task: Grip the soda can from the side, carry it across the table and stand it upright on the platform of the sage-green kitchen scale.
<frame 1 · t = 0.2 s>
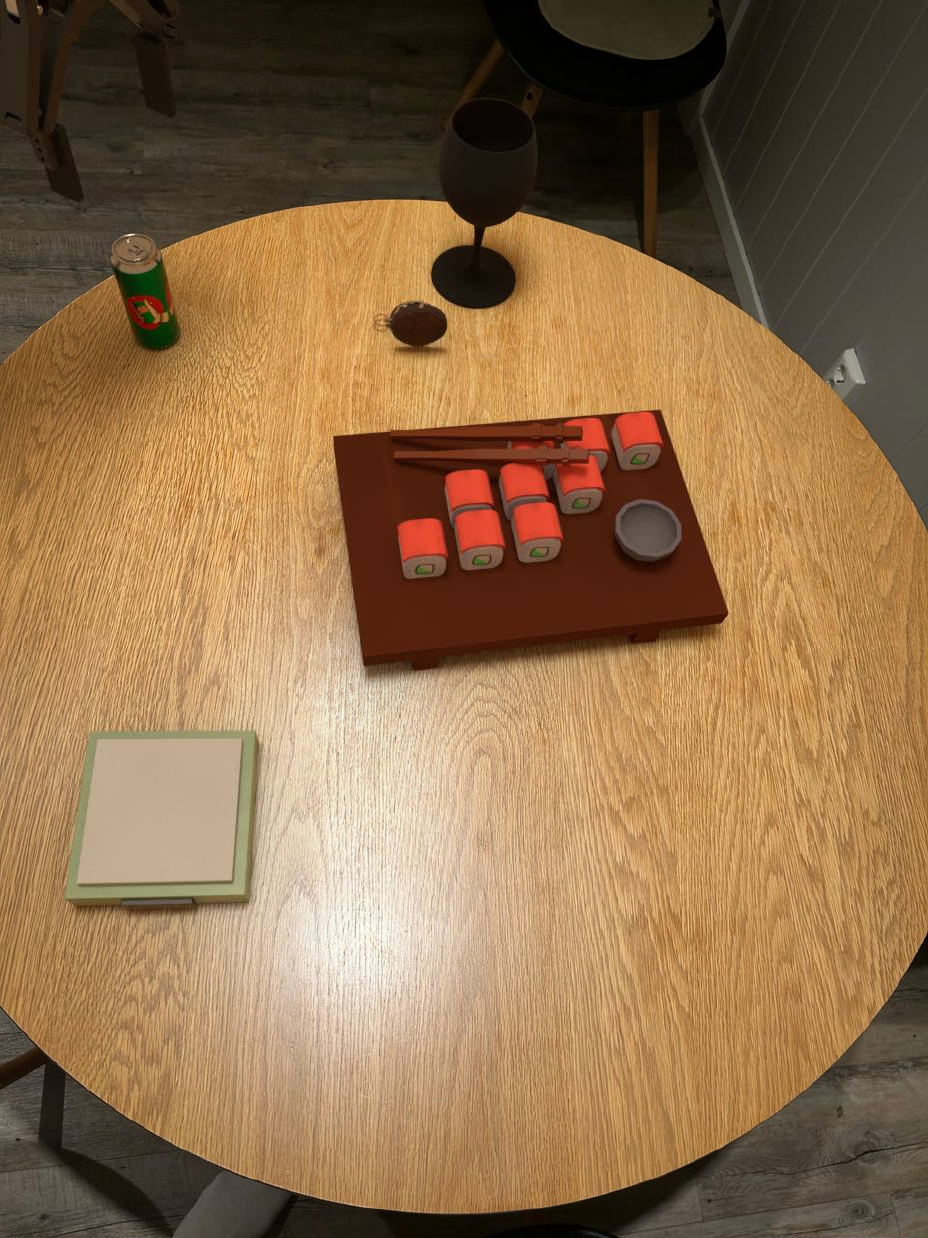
hand: (116, 151, 82), 25 cm above the table, tool pointing down, fingers open, 13 cm apart
scale: (171, 820, 80), on the table
sushi: (518, 547, 96), on the table
wine glass: (473, 278, 113), on the table
compass: (408, 331, 109), on the table
soda can: (157, 336, 105), on the table
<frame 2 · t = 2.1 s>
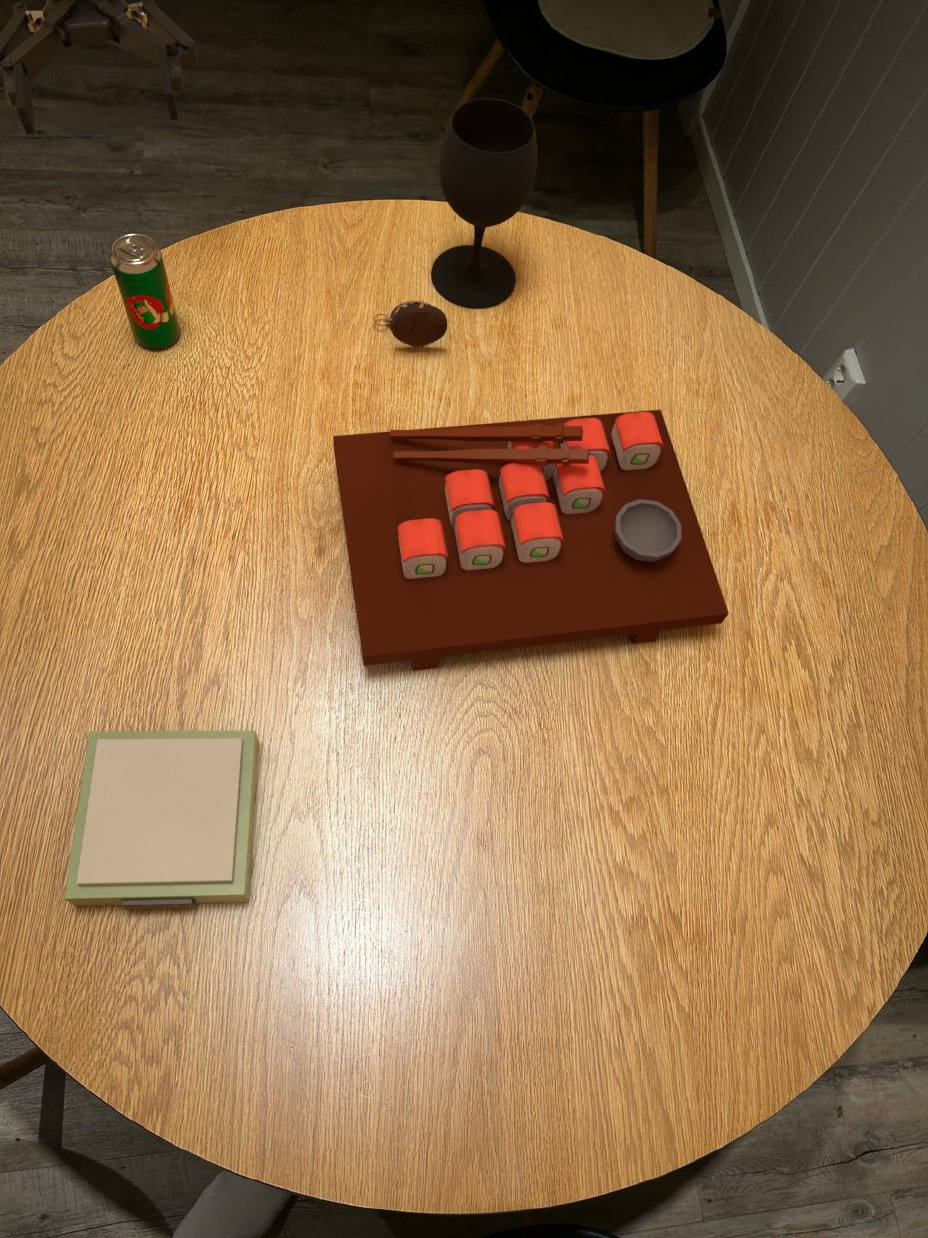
hand: (99, 114, 90), 21 cm above the table, tool horizontal, fingers open, 13 cm apart
nothing on the table moved.
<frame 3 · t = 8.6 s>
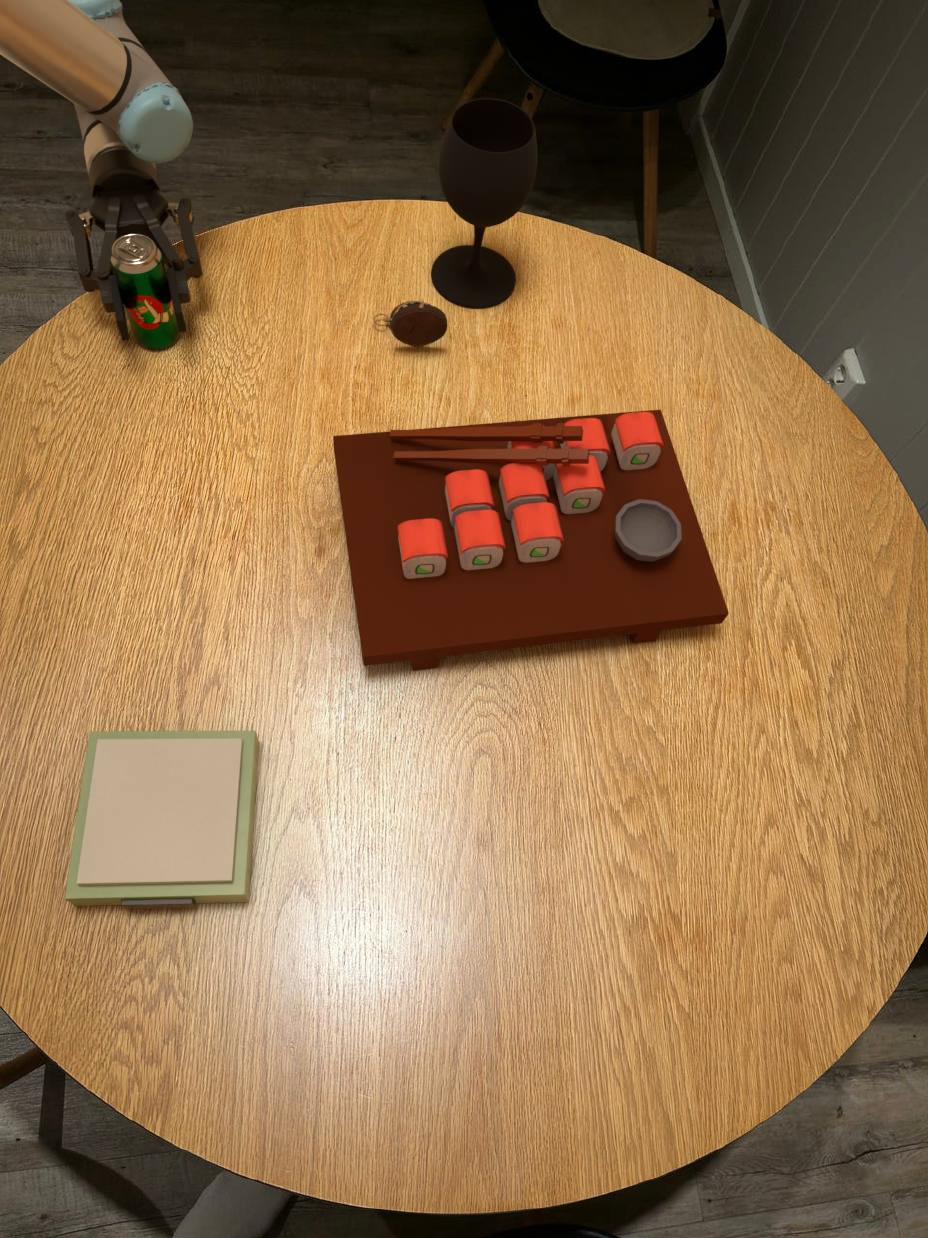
hand: (152, 325, 97), 7 cm above the table, tool horizontal, fingers closed on soda can, 5 cm apart
soda can: (157, 336, 105), on the table, touching gripper
everything else where it was.
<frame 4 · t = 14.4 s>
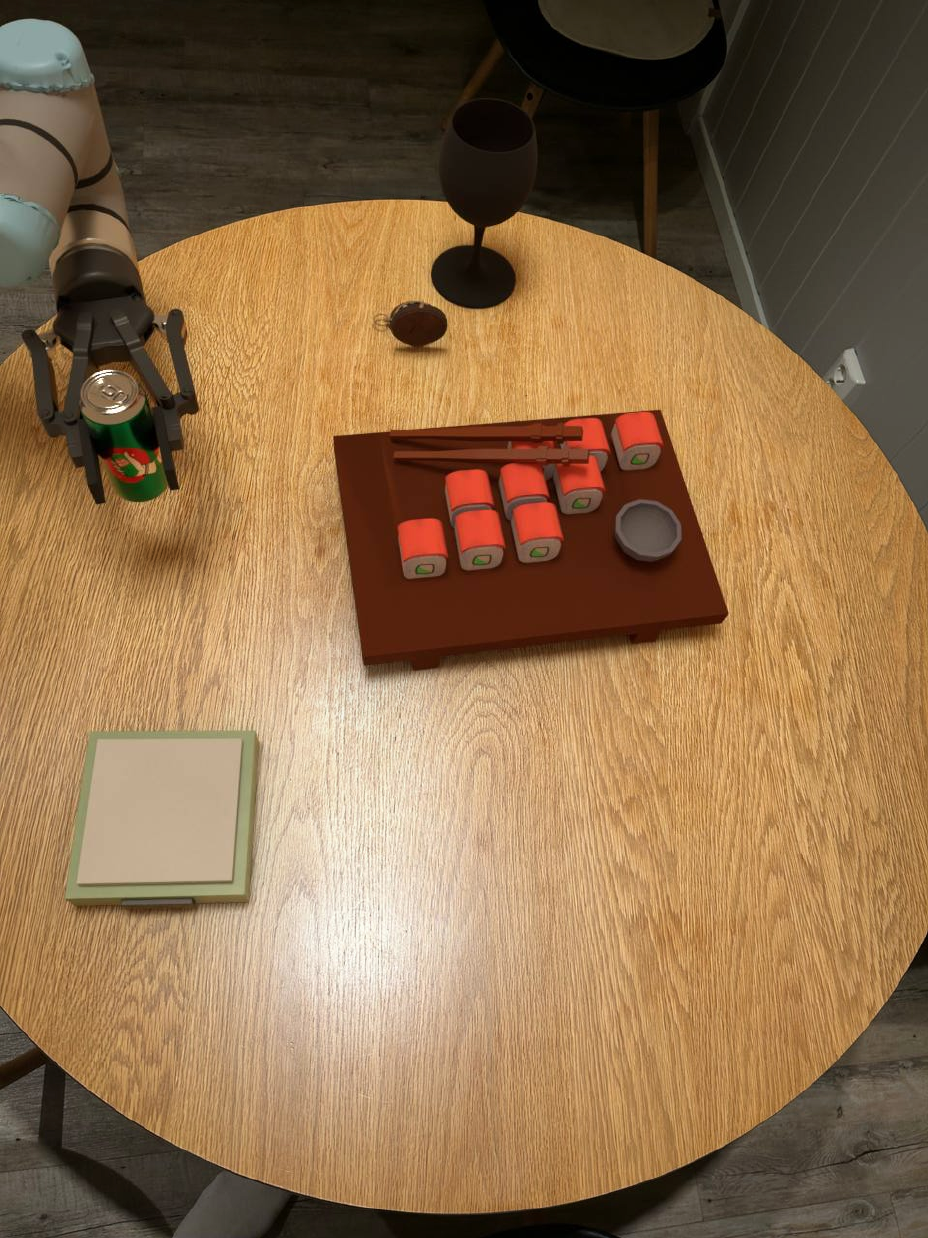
hand: (134, 486, 74), 18 cm above the table, tool horizontal, fingers closed on soda can, 5 cm apart
soda can: (142, 483, 83), point 11 cm above the table, touching gripper
everything else where it was.
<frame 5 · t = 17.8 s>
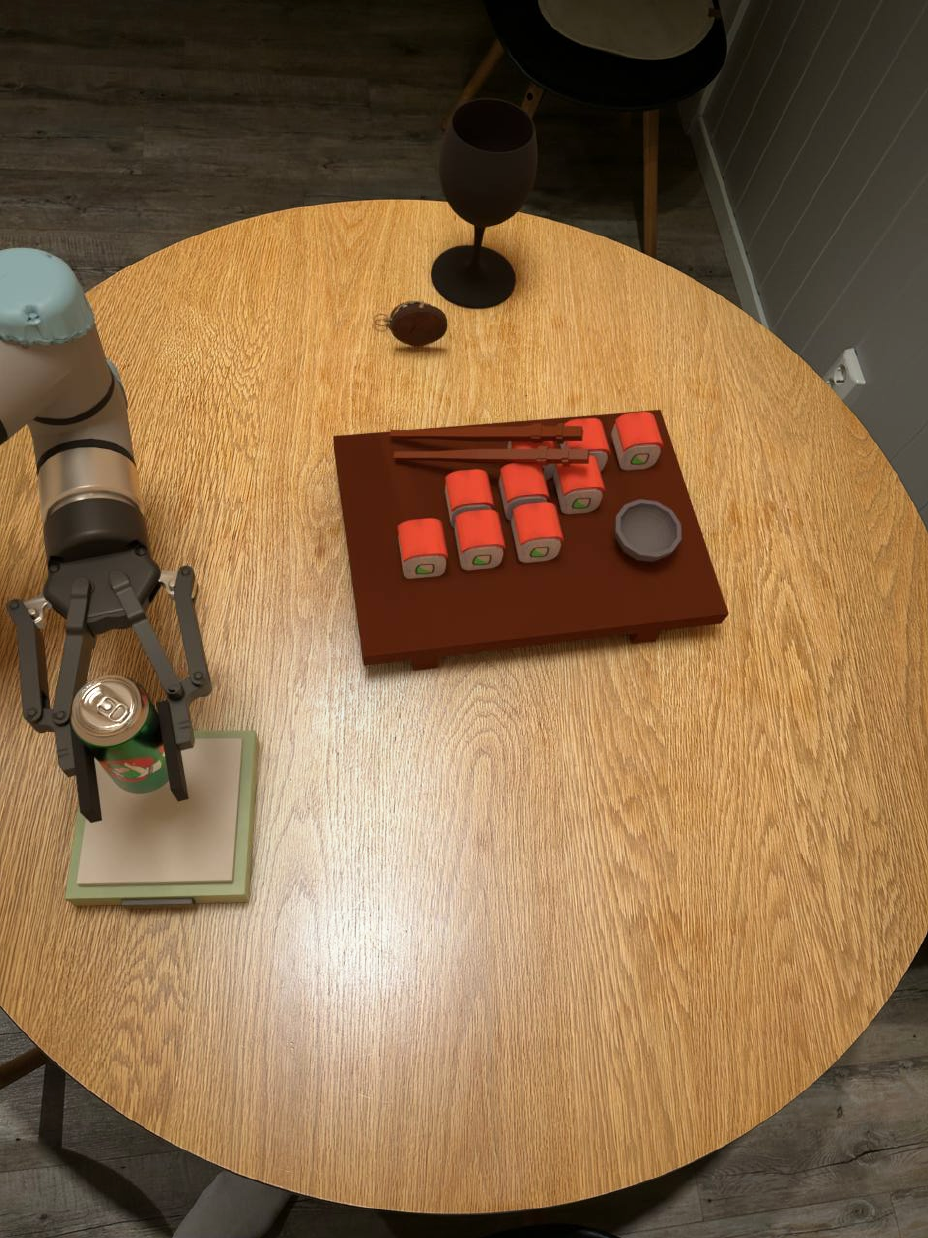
hand: (136, 804, 63), 18 cm above the table, tool horizontal, fingers closed on soda can, 5 cm apart
soda can: (146, 764, 71), point 11 cm above the table, touching gripper
everything else where it was.
when the fingers open (10 cm above the table, at t = 20.2 s): soda can stays where it is, resting on scale.
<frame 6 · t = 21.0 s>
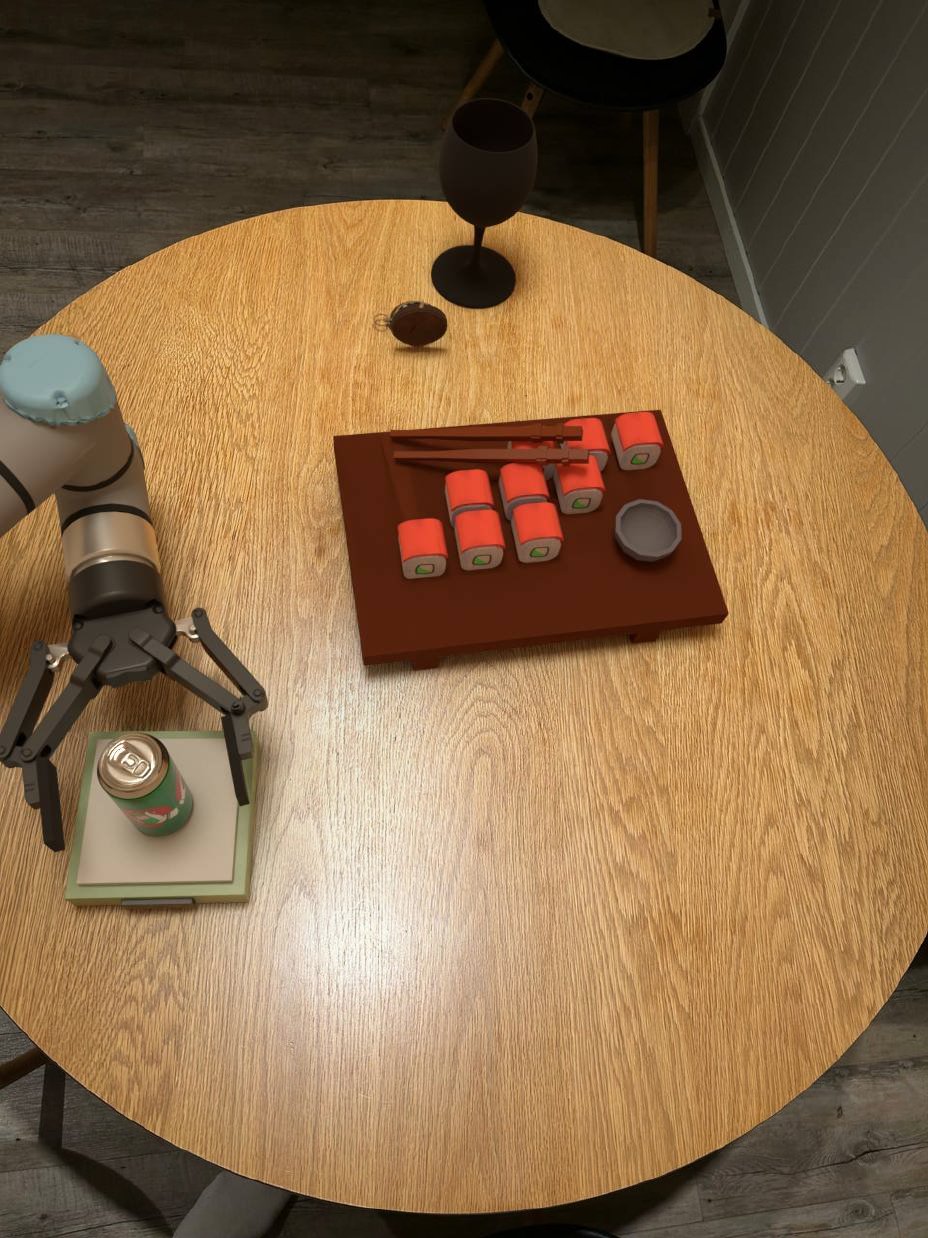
hand: (150, 823, 69), 11 cm above the table, tool horizontal, fingers open, 13 cm apart
soda can: (163, 808, 77), point 4 cm above the table, touching scale
everything else where it was.
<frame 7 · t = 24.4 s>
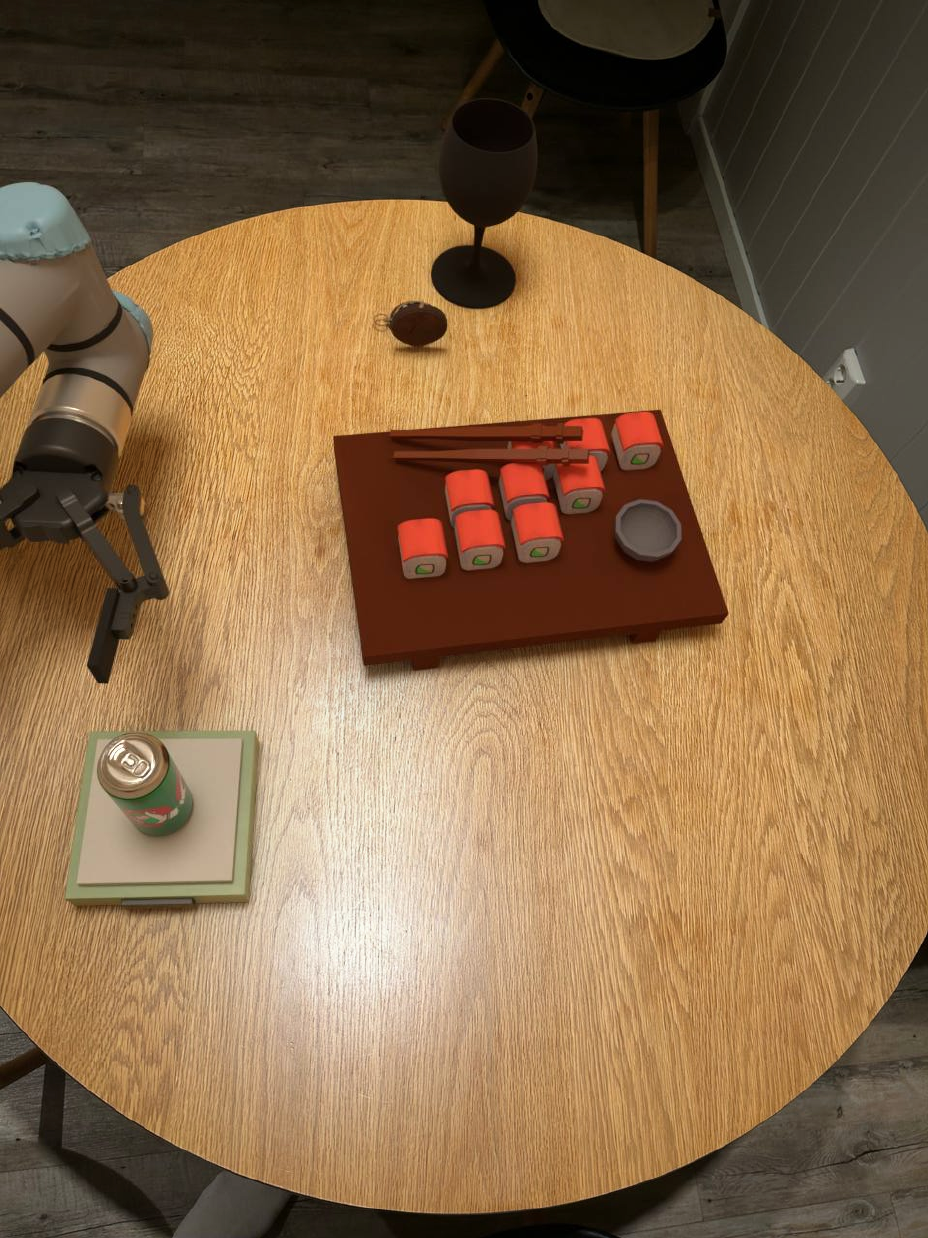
hand: (0, 671, 67), 18 cm above the table, tool horizontal, fingers open, 13 cm apart
nothing on the table moved.
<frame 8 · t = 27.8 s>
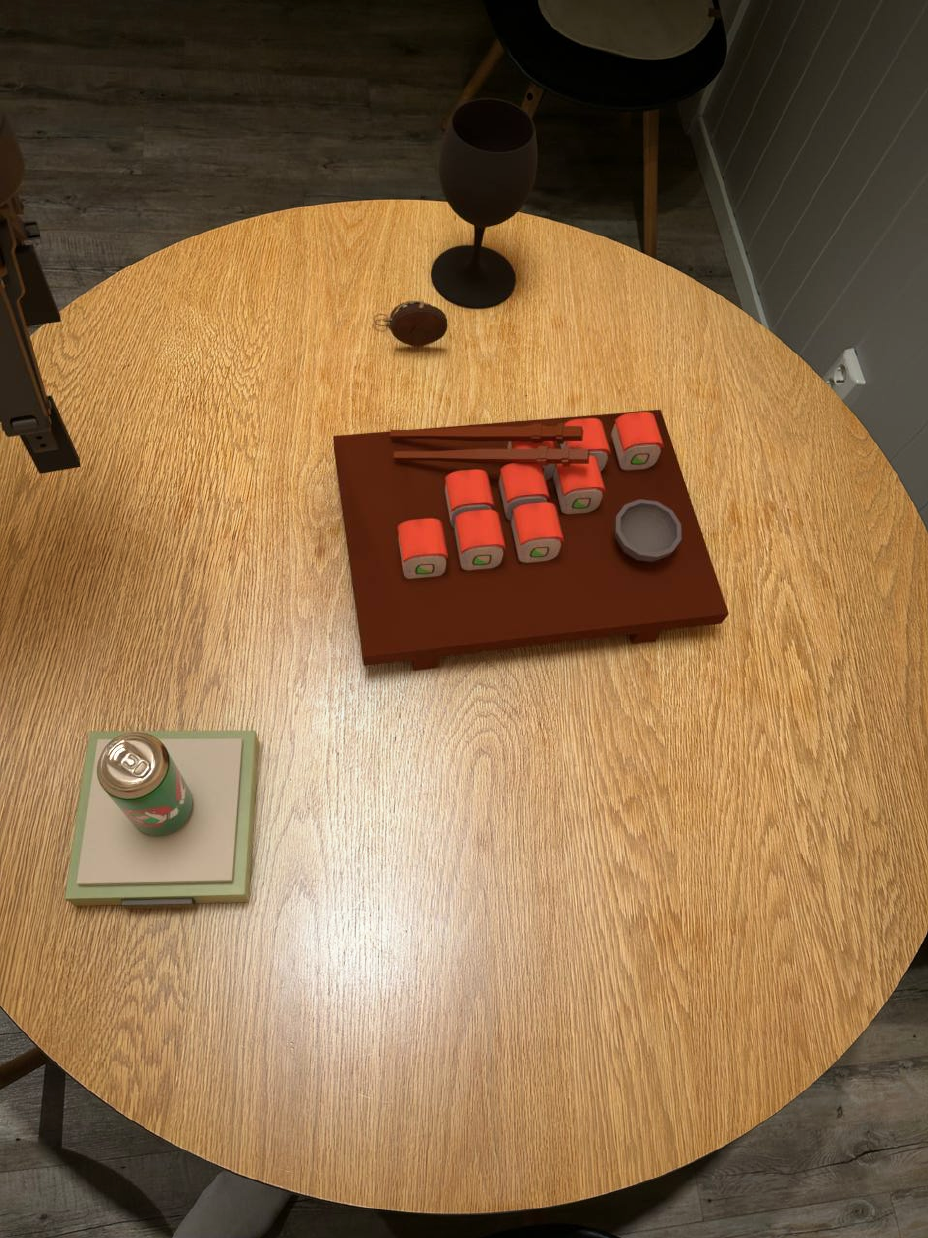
hand: (50, 390, 67), 27 cm above the table, tool pointing down, fingers open, 13 cm apart
nothing on the table moved.
at the end: soda can inside the target area on the scale (0.0 cm from its centre), point 3.6 cm above the scale's base; soda can tilted 0°; the gripper is holding nothing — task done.
